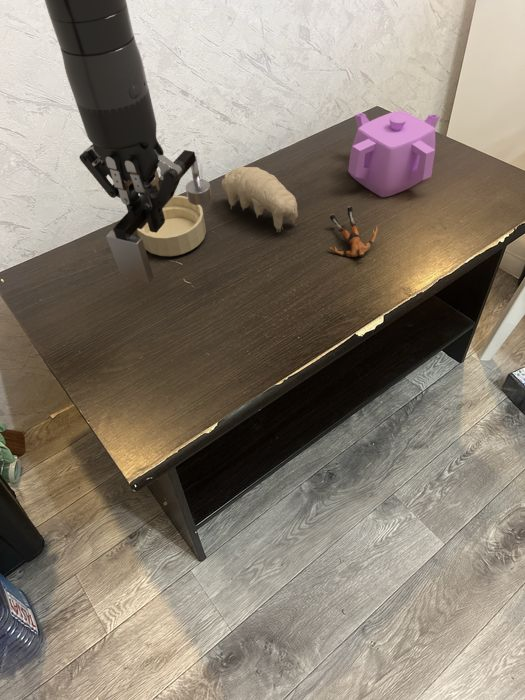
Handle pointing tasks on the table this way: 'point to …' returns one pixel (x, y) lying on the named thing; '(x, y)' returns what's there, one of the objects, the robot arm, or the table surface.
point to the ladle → (130, 247)
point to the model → (260, 193)
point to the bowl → (176, 229)
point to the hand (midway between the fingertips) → (149, 226)
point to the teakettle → (392, 152)
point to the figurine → (352, 238)
